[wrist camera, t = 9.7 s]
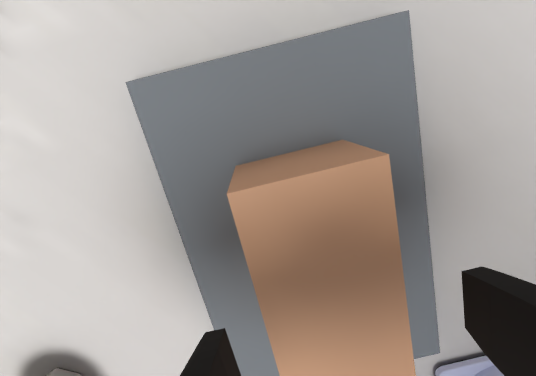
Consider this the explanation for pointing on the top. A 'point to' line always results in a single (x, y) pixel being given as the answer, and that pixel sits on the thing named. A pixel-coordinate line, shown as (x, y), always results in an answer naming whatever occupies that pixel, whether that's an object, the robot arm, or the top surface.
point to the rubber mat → (281, 142)
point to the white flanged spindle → (62, 373)
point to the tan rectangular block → (326, 260)
